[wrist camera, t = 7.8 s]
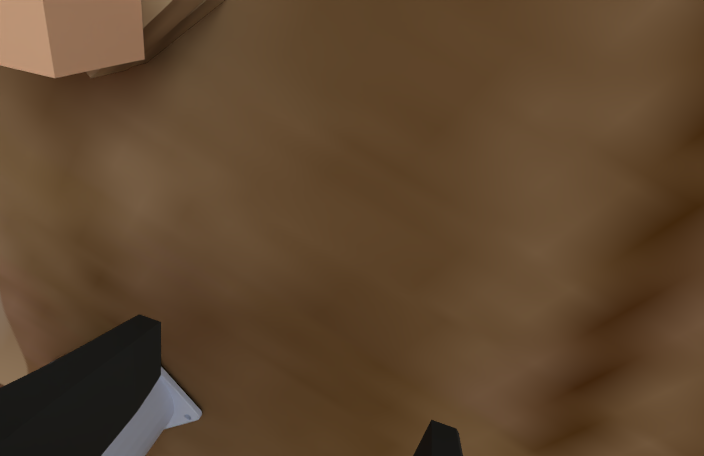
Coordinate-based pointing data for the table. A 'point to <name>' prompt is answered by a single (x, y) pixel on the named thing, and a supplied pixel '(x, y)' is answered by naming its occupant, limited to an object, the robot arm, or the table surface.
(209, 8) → the slab lower
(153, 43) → the slab upper
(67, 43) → the block
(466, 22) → the table surface
